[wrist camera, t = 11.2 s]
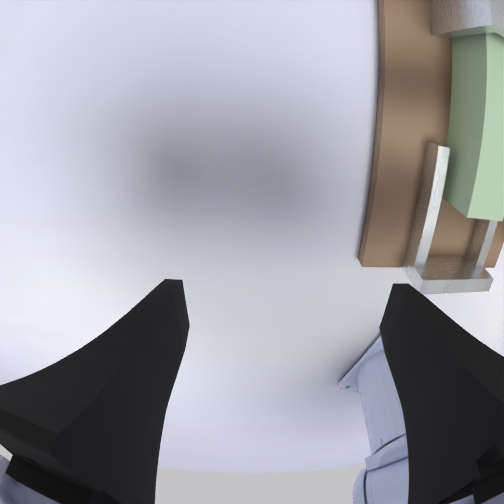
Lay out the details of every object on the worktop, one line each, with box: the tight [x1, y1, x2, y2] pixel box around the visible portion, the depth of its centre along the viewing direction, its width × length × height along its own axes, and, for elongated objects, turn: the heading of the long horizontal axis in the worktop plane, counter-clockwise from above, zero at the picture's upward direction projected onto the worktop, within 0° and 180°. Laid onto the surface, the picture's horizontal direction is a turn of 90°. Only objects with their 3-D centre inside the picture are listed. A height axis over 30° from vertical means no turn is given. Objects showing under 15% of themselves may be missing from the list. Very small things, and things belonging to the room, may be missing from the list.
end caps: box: [402, 0, 504, 294], centre depth 11 cm, size 22×6×6 cm, turn 0°
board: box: [358, 0, 504, 268], centre depth 14 cm, size 22×12×1 cm, turn 0°
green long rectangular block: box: [442, 32, 504, 221], centre depth 11 cm, size 13×3×4 cm, turn 0°
